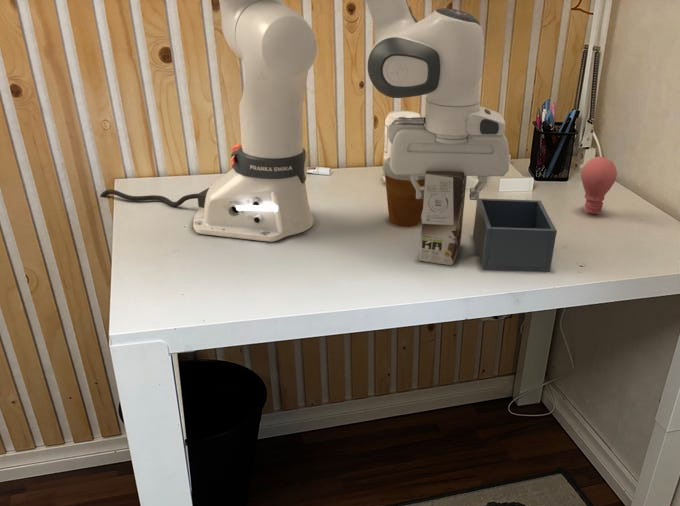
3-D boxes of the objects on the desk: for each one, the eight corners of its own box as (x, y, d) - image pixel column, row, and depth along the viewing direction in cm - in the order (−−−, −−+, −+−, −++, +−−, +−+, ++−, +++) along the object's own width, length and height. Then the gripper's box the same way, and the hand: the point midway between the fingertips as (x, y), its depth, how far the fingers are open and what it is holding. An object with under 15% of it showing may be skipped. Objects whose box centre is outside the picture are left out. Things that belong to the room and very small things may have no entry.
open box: (482, 269, 129) (487, 228, 125) (472, 236, 141) (477, 198, 137) (549, 271, 130) (556, 230, 126) (534, 238, 142) (540, 200, 138)
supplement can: (403, 174, 170) (406, 108, 162) (426, 184, 165) (431, 116, 157) (375, 180, 166) (377, 112, 158) (398, 191, 161) (401, 121, 153)
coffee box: (453, 266, 130) (461, 177, 121) (418, 261, 131) (423, 173, 122) (461, 246, 137) (469, 161, 129) (427, 241, 138) (433, 157, 130)
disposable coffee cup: (371, 219, 146) (372, 160, 139) (405, 208, 152) (407, 151, 145) (404, 234, 140) (407, 173, 134) (438, 223, 146) (442, 163, 140)
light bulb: (573, 217, 153) (583, 160, 147) (575, 205, 159) (585, 150, 153) (608, 221, 152) (619, 164, 146) (608, 209, 158) (620, 154, 152)
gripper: (388, 122, 117) (387, 204, 125) (515, 125, 118) (506, 206, 126) (388, 111, 123) (387, 191, 130) (509, 114, 124) (501, 193, 131)
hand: (447, 198), depth 128 cm, fingers open, 8 cm apart
